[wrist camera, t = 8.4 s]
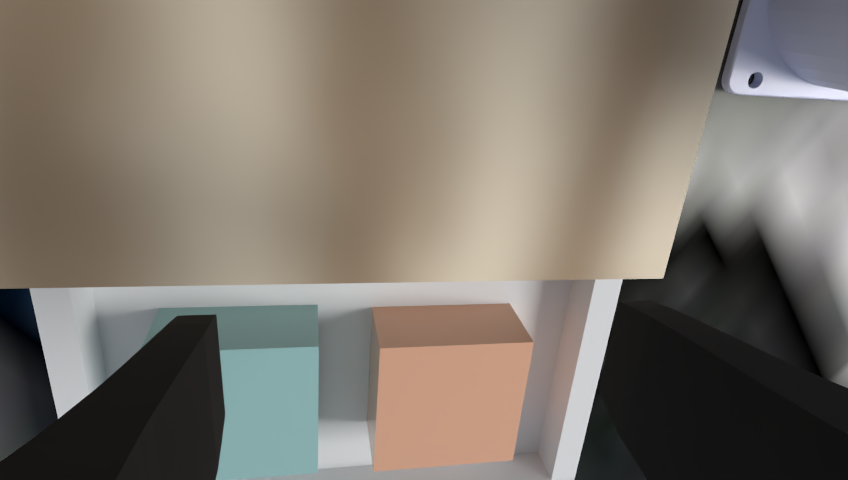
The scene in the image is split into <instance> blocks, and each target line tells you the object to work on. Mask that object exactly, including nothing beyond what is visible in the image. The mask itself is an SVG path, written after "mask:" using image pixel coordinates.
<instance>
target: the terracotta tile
mask: <svg viewBox="0 0 848 480" xmlns="http://www.w3.org/2000/svg"><path fill="white" fill-rule="evenodd" d="M533 345H534V342H533V340H532V338H531V337H530V335H529V334H528V332H527V330H526V329H525V327H524V326H523V324H522V322H521V321H520V319H519V318H518V316H517V314H516V313H515V311H514V310H513V308H512V306H511V305H510V303H508V304H469V305H430V306H392V307H372V318H371V340H370V362H369V384H368V405H367V427H368V435H369V442H370V450H371V458H372V465H373V472H376V471H388V470H400V469H413V468H425V467H437V466H449V465H461V464H473V463H486V462H498V461H510V460H513V456H514V451H515V445H516V439H517V434H518V428H519V423H520V417H521V412H522V406H523V400H524V395H525V389H526V384H527V378H528V373H529V367H530V361H531V356H532V350H533Z"/></svg>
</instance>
